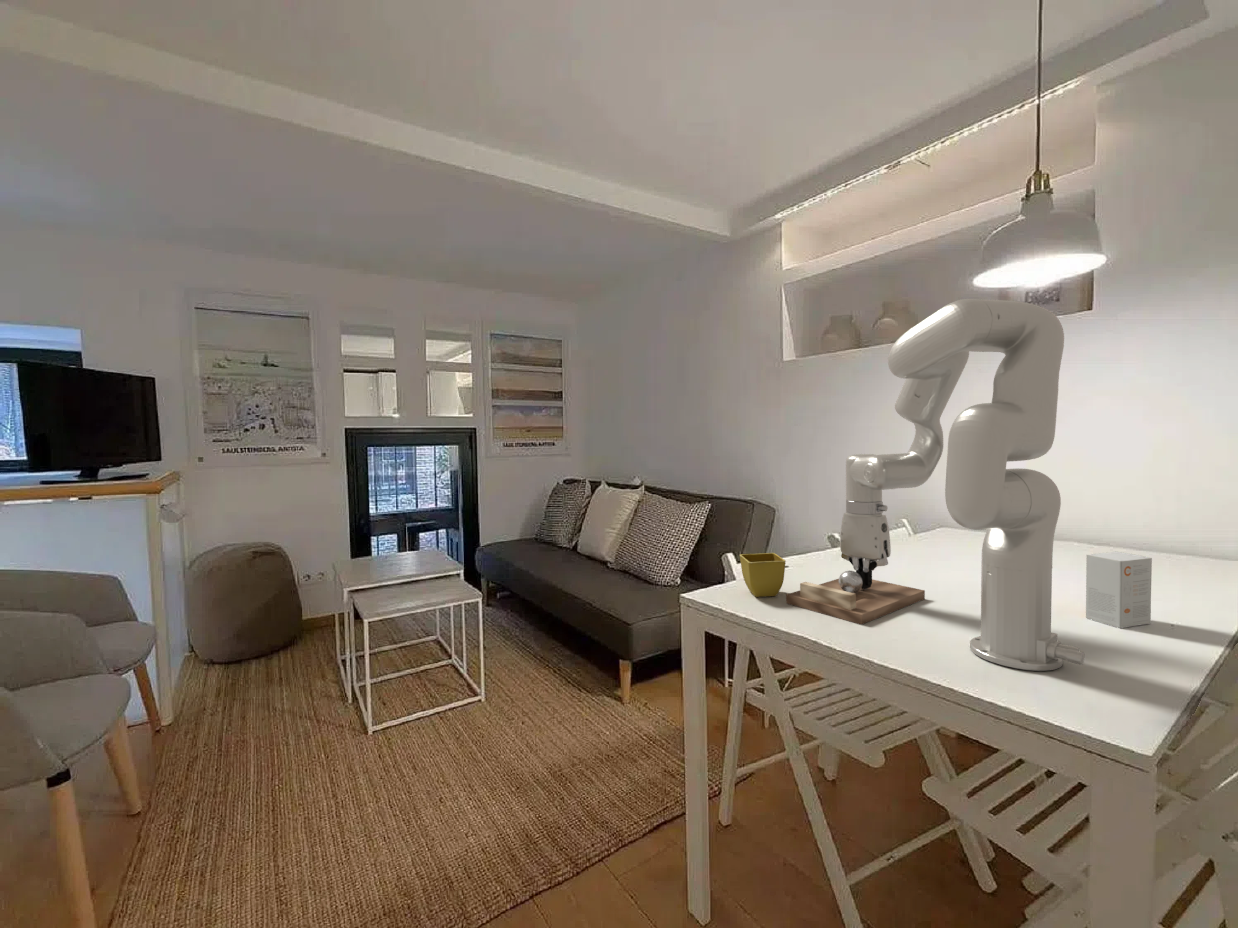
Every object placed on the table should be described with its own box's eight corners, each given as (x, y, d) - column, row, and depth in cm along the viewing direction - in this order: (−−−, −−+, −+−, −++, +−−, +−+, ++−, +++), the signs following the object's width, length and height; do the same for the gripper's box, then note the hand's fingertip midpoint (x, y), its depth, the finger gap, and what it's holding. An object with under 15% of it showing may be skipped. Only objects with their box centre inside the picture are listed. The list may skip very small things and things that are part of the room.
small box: (1114, 613, 110) (1115, 550, 109) (1151, 624, 103) (1153, 557, 103) (1084, 618, 108) (1085, 553, 107) (1120, 628, 102) (1122, 560, 101)
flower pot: (749, 600, 125) (748, 561, 124) (739, 589, 133) (739, 553, 133) (786, 598, 125) (786, 560, 124) (774, 588, 134) (774, 552, 133)
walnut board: (924, 598, 122) (924, 577, 122) (861, 624, 107) (861, 599, 107) (850, 582, 137) (850, 563, 137) (786, 603, 122) (786, 581, 121)
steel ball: (860, 567, 119) (848, 583, 118) (870, 583, 121) (858, 599, 119) (842, 564, 124) (830, 579, 122) (852, 579, 125) (840, 595, 124)
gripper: (905, 509, 119) (905, 591, 120) (843, 503, 131) (843, 578, 132) (887, 513, 115) (887, 598, 115) (824, 506, 127) (825, 583, 128)
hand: (863, 587), depth 124 cm, fingers closed
